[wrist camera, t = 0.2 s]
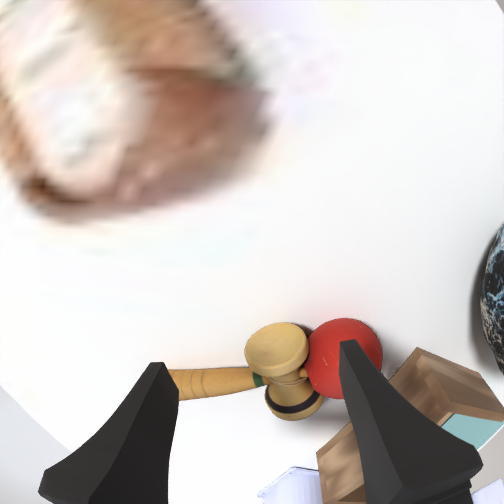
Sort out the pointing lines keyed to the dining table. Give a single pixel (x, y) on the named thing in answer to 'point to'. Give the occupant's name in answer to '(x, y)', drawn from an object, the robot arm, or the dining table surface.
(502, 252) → the decorative stone
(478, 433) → the lid
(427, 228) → the dining table surface
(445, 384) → the crate
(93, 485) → the robot arm
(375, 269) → the dining table surface
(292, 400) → the kendama
